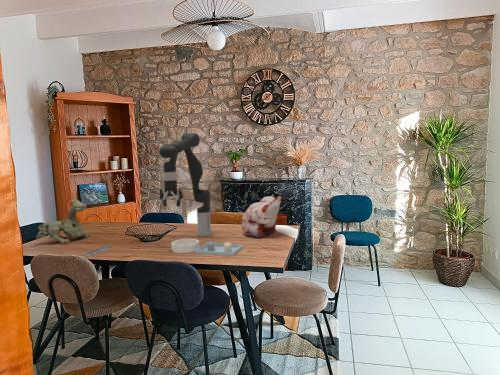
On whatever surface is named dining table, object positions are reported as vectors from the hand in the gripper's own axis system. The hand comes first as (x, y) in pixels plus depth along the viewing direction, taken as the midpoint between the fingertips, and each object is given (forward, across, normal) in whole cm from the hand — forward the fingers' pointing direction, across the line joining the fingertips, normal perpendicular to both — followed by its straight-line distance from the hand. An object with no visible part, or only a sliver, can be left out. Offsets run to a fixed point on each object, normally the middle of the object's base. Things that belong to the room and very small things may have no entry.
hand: (171, 206), depth 220 cm
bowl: (+29, -4, -6) cm, 30 cm away
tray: (+29, -26, -8) cm, 40 cm away
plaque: (+29, +49, +10) cm, 58 cm away
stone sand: (+28, -32, -7) cm, 43 cm away
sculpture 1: (+29, +90, -12) cm, 96 cm away
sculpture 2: (+29, -42, -55) cm, 75 cm away
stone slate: (+28, -21, -8) cm, 36 cm away
